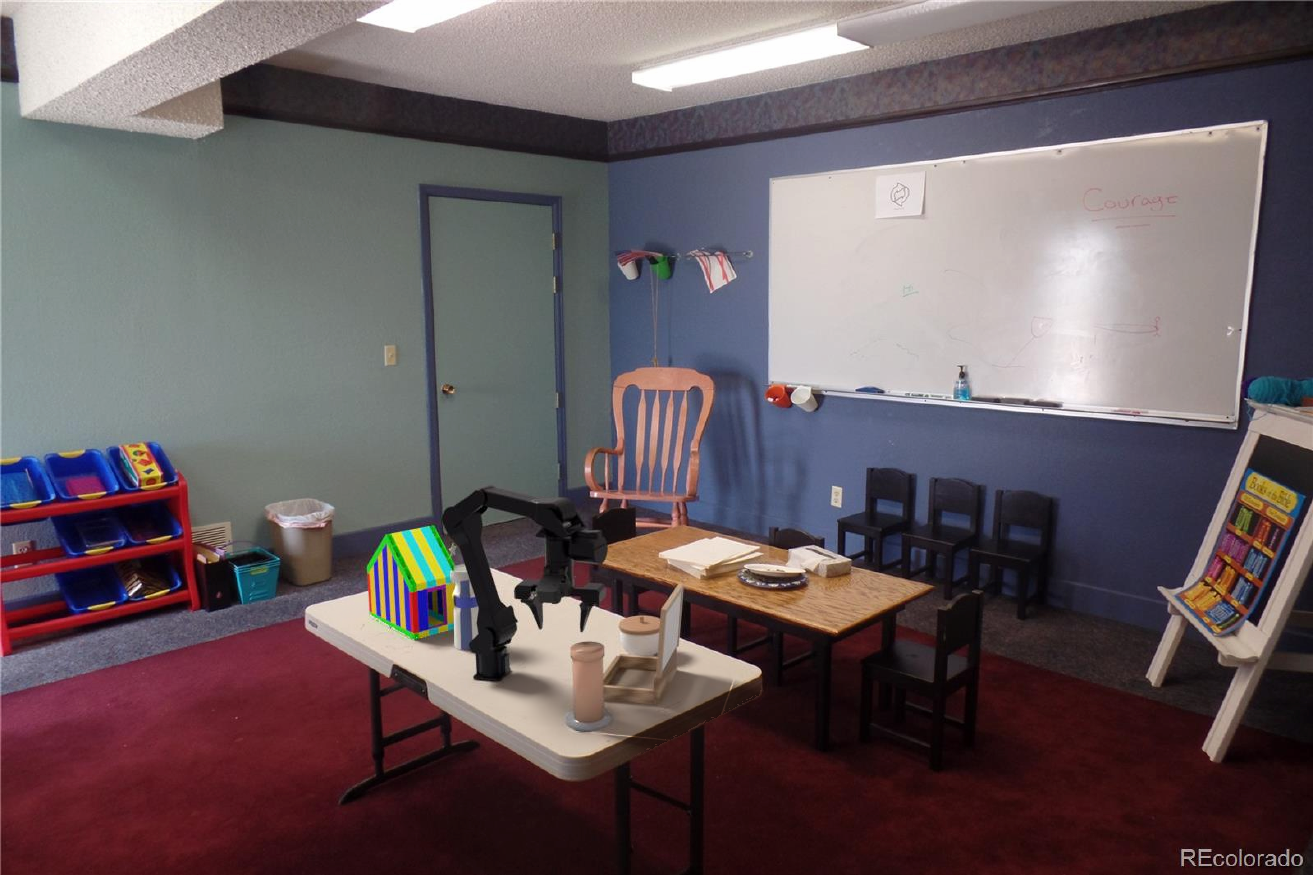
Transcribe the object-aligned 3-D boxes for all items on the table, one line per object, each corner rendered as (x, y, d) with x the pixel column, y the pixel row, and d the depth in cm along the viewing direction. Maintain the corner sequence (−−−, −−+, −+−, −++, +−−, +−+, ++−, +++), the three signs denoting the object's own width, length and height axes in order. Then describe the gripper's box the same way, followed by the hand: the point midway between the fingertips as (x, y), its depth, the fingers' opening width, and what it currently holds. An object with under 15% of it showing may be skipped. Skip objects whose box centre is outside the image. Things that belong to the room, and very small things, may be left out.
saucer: (559, 729, 168) (559, 724, 167) (574, 709, 176) (573, 704, 176) (604, 733, 166) (603, 729, 165) (616, 713, 174) (616, 708, 174)
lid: (655, 677, 176) (654, 609, 175) (674, 645, 194) (673, 582, 192) (666, 678, 176) (665, 609, 174) (684, 645, 194) (683, 582, 192)
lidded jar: (639, 643, 212) (639, 605, 211) (674, 653, 205) (673, 614, 204) (610, 656, 204) (609, 617, 203) (644, 667, 197) (644, 627, 196)
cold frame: (593, 699, 180) (592, 672, 180) (616, 666, 198) (616, 641, 197) (658, 705, 177) (658, 677, 177) (676, 671, 195) (676, 645, 194)
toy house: (369, 617, 233) (364, 526, 230) (415, 606, 243) (411, 518, 239) (414, 640, 216) (409, 542, 213) (461, 627, 225) (457, 532, 222)
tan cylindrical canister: (565, 716, 171) (563, 648, 169) (589, 705, 176) (588, 638, 174) (588, 726, 166) (586, 656, 164) (612, 715, 171) (611, 646, 169)
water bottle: (448, 651, 208) (443, 549, 205) (456, 638, 217) (452, 540, 213) (482, 651, 208) (478, 549, 205) (489, 638, 217) (485, 540, 213)
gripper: (502, 567, 177) (505, 641, 179) (590, 571, 172) (592, 647, 175) (522, 552, 187) (525, 622, 190) (606, 557, 183) (607, 628, 185)
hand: (561, 630), depth 184 cm, fingers open, 9 cm apart
